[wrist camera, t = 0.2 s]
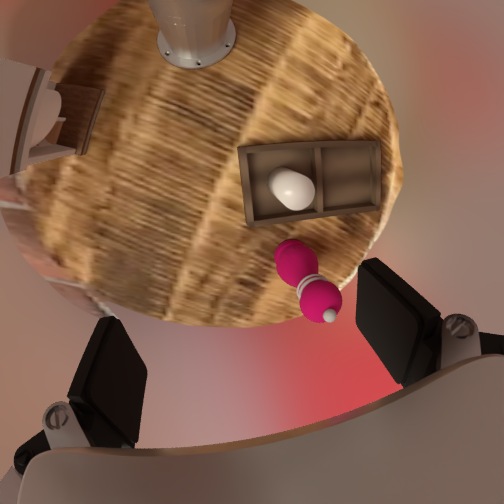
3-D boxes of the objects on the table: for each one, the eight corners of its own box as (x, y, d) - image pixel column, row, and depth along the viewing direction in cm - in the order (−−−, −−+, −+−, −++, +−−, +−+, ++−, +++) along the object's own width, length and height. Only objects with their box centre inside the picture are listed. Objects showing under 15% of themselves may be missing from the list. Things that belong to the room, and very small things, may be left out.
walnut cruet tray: (237, 147, 41) (239, 147, 39) (371, 140, 44) (380, 141, 41) (246, 222, 47) (248, 228, 44) (371, 205, 49) (380, 210, 46)
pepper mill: (315, 253, 51) (365, 314, 33) (288, 278, 53) (325, 348, 35) (292, 228, 49) (339, 285, 31) (263, 255, 50) (294, 324, 32)
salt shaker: (264, 168, 43) (278, 176, 35) (294, 165, 43) (313, 173, 35) (267, 197, 45) (281, 212, 37) (296, 194, 45) (315, 208, 37)
